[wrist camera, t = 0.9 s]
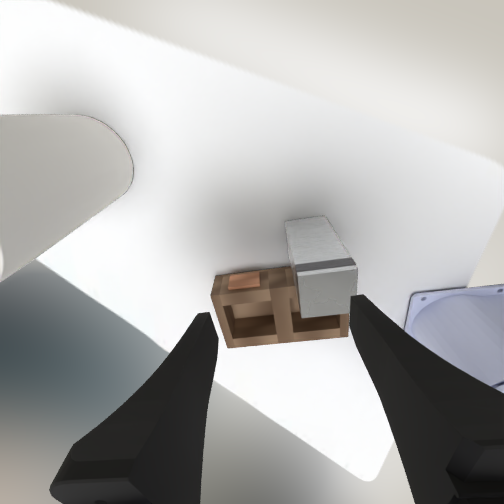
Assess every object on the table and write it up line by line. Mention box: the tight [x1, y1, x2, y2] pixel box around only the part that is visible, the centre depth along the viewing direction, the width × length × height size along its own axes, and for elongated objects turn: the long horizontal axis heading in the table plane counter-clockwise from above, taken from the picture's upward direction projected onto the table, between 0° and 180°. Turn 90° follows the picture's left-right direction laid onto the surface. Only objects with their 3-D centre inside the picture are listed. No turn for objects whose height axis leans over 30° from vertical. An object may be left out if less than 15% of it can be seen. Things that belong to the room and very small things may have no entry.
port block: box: [211, 266, 349, 348], centre depth 24 cm, size 12×7×3 cm, turn 99°
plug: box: [285, 215, 358, 318], centre depth 18 cm, size 3×3×8 cm
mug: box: [0, 114, 133, 282], centre depth 14 cm, size 10×7×12 cm, turn 139°
